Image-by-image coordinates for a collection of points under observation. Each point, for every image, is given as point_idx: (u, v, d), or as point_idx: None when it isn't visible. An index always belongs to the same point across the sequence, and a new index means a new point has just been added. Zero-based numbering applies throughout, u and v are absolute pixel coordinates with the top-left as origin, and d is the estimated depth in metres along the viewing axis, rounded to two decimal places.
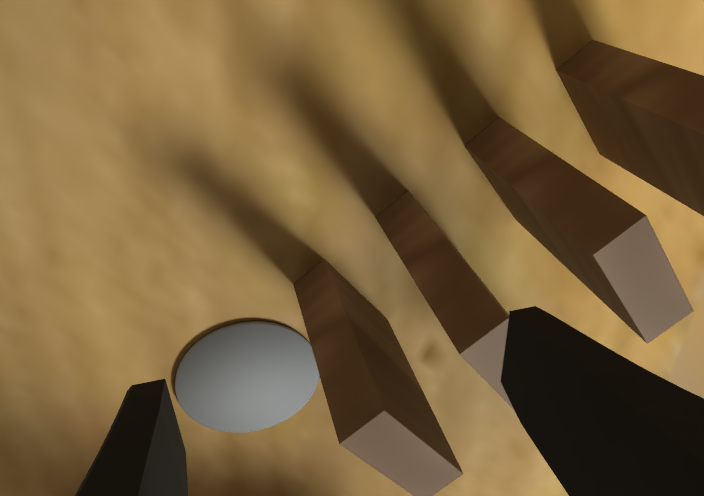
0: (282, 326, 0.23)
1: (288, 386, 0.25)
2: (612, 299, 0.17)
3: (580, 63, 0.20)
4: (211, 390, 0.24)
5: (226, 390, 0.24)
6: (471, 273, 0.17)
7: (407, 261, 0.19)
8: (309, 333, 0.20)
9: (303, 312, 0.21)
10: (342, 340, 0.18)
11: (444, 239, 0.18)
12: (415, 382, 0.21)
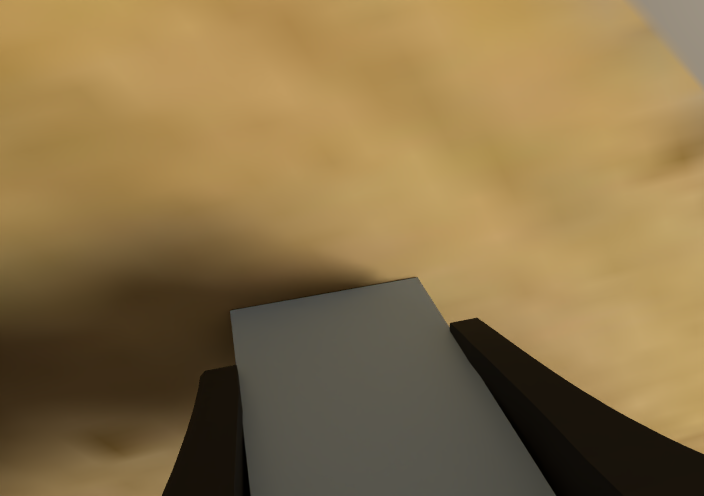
0: None
1: None
2: None
3: None
4: None
5: None
6: None
7: None
8: None
9: None
10: None
11: None
12: None
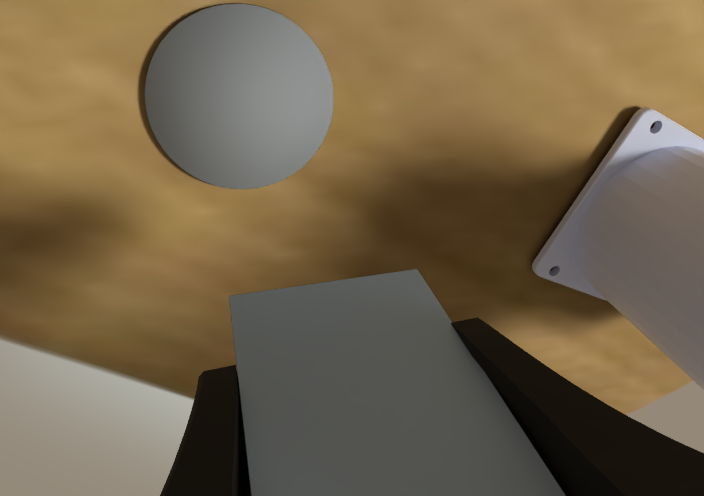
0: (192, 14, 0.17)
1: (285, 71, 0.18)
2: None
3: None
4: (223, 146, 0.19)
5: (235, 134, 0.19)
6: None
7: None
8: None
9: None
10: None
11: None
12: None
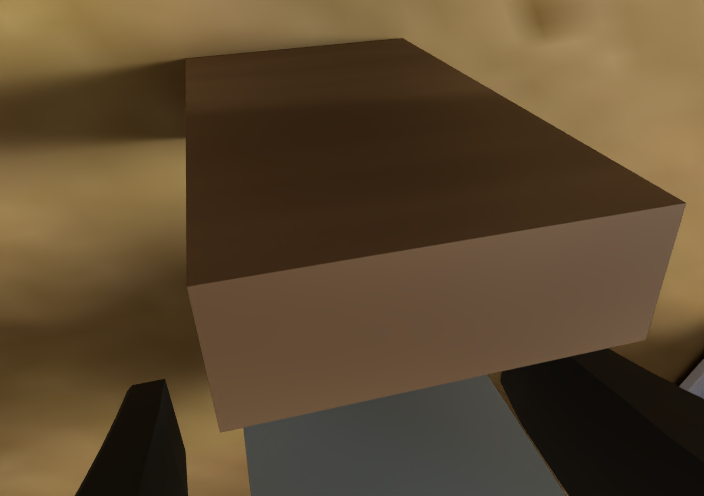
0: None
1: None
2: None
3: None
4: None
5: None
6: None
7: None
8: None
9: None
10: None
11: None
12: (470, 92, 0.08)
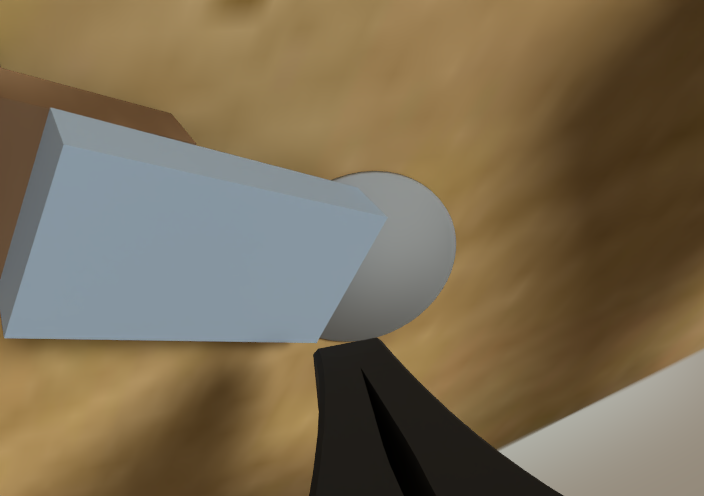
0: None
1: None
2: None
3: None
4: (388, 297, 0.18)
5: (385, 282, 0.18)
6: None
7: None
8: None
9: None
10: None
11: None
12: None
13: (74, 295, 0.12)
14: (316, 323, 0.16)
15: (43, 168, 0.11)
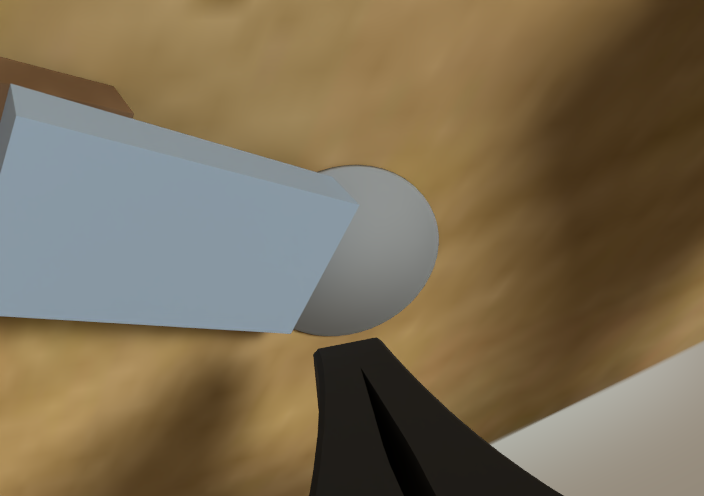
0: None
1: None
2: None
3: None
4: (370, 292, 0.18)
5: (367, 277, 0.18)
6: None
7: None
8: None
9: None
10: None
11: None
12: None
13: (33, 272, 0.12)
14: (289, 312, 0.16)
15: (1, 142, 0.11)
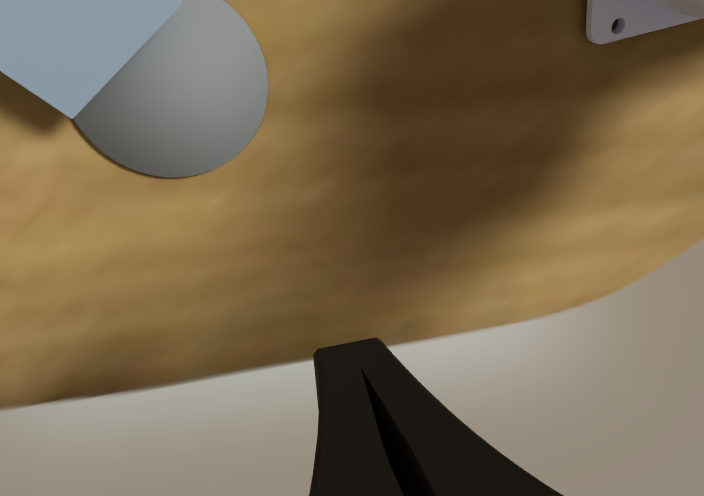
0: None
1: (180, 28, 0.17)
2: None
3: None
4: (184, 135, 0.18)
5: (185, 116, 0.18)
6: None
7: None
8: None
9: None
10: None
11: None
12: None
13: None
14: (76, 90, 0.15)
15: None
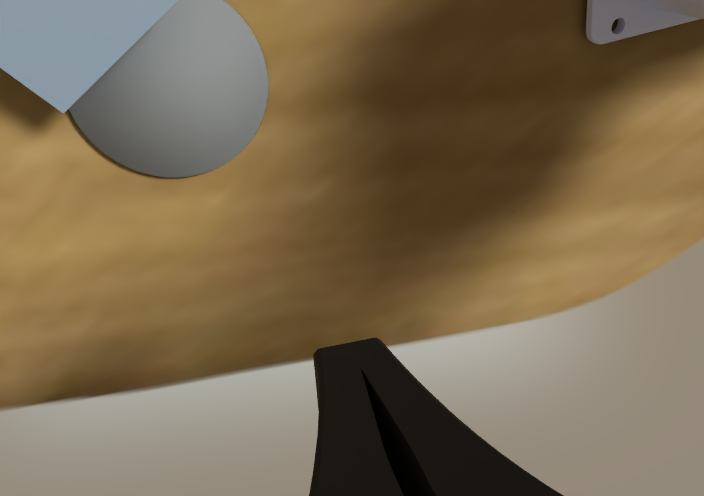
0: None
1: (180, 28, 0.17)
2: None
3: None
4: (184, 135, 0.18)
5: (185, 116, 0.18)
6: None
7: None
8: None
9: None
10: None
11: None
12: None
13: None
14: (68, 84, 0.15)
15: None
